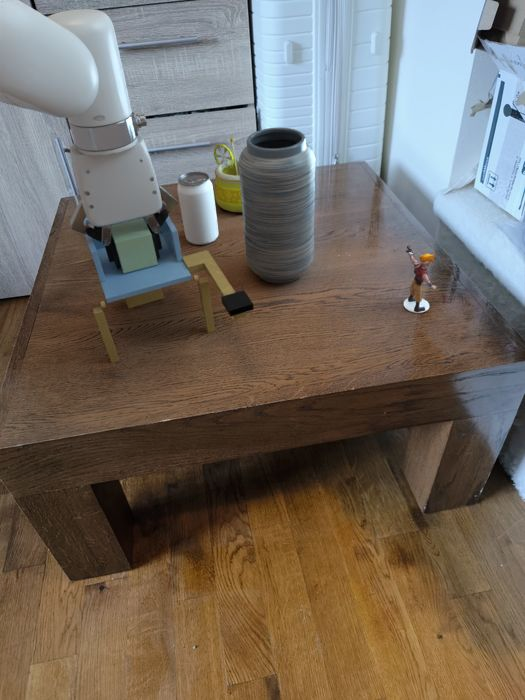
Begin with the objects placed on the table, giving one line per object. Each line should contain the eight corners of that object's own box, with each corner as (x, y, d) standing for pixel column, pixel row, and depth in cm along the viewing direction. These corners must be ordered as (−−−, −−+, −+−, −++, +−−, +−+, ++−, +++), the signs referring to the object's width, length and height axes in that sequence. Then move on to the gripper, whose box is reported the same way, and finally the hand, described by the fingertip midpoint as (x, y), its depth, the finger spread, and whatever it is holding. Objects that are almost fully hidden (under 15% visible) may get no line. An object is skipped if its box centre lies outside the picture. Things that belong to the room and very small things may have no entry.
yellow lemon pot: (273, 211, 106) (270, 153, 98) (221, 219, 105) (214, 162, 96) (259, 185, 115) (256, 130, 107) (211, 192, 114) (204, 137, 106)
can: (224, 239, 99) (217, 179, 91) (194, 249, 97) (184, 189, 89) (210, 225, 103) (202, 167, 95) (180, 235, 101) (169, 176, 93)
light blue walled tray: (125, 357, 62) (113, 319, 58) (90, 253, 79) (79, 219, 75) (254, 316, 66) (251, 279, 62) (194, 226, 83) (189, 193, 79)
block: (123, 273, 73) (115, 242, 69) (116, 256, 76) (108, 226, 73) (158, 264, 74) (151, 233, 71) (149, 248, 77) (142, 218, 74)
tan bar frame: (111, 363, 75) (91, 307, 68) (96, 311, 85) (77, 257, 77) (215, 331, 79) (206, 274, 72) (190, 285, 89) (180, 231, 81)
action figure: (390, 281, 86) (398, 232, 80) (407, 279, 87) (415, 229, 80) (417, 326, 78) (428, 275, 71) (436, 324, 78) (448, 272, 71)
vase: (326, 264, 91) (331, 133, 75) (286, 297, 85) (283, 161, 69) (275, 244, 97) (269, 118, 81) (234, 273, 90) (220, 143, 75)
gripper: (164, 110, 67) (185, 233, 80) (29, 135, 63) (74, 261, 75) (180, 128, 62) (200, 257, 74) (34, 157, 58) (81, 288, 70)
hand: (136, 257), depth 75 cm, fingers closed on block, 5 cm apart
